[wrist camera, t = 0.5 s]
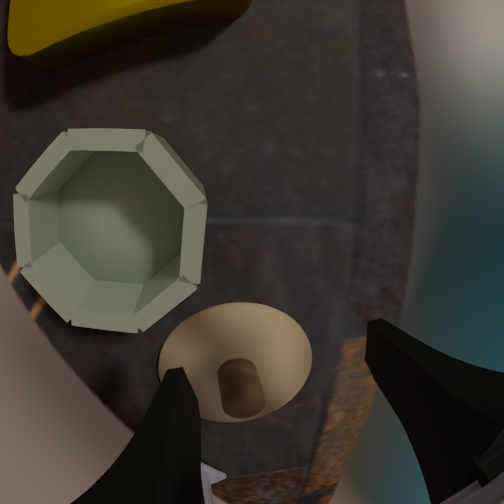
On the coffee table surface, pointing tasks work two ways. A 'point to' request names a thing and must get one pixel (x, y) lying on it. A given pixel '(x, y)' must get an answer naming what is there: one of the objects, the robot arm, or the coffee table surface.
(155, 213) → the bowl
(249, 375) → the lid
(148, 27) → the element tile
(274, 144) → the coffee table surface
